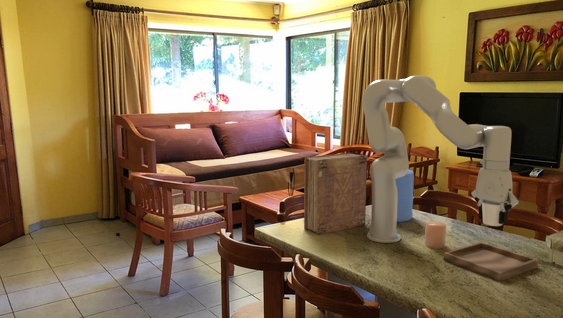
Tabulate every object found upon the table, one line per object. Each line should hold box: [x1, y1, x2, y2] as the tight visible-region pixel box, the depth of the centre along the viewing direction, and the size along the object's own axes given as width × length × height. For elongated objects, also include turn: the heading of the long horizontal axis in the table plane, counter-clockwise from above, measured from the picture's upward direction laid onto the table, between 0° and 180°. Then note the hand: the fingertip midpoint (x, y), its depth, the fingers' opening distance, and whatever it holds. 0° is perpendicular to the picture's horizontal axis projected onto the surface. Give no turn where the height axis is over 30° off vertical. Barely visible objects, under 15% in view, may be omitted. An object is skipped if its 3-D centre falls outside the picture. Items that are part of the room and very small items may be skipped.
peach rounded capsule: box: [424, 220, 447, 250], centre depth 159 cm, size 7×7×8 cm
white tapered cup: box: [482, 200, 505, 227], centre depth 140 cm, size 7×7×7 cm
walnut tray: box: [443, 241, 539, 282], centre depth 142 cm, size 20×20×2 cm
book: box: [303, 152, 368, 236], centre depth 180 cm, size 25×9×30 cm, turn 122°
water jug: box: [395, 169, 415, 223], centre depth 194 cm, size 16×16×28 cm
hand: (492, 220), depth 140 cm, fingers closed on white tapered cup, 6 cm apart
